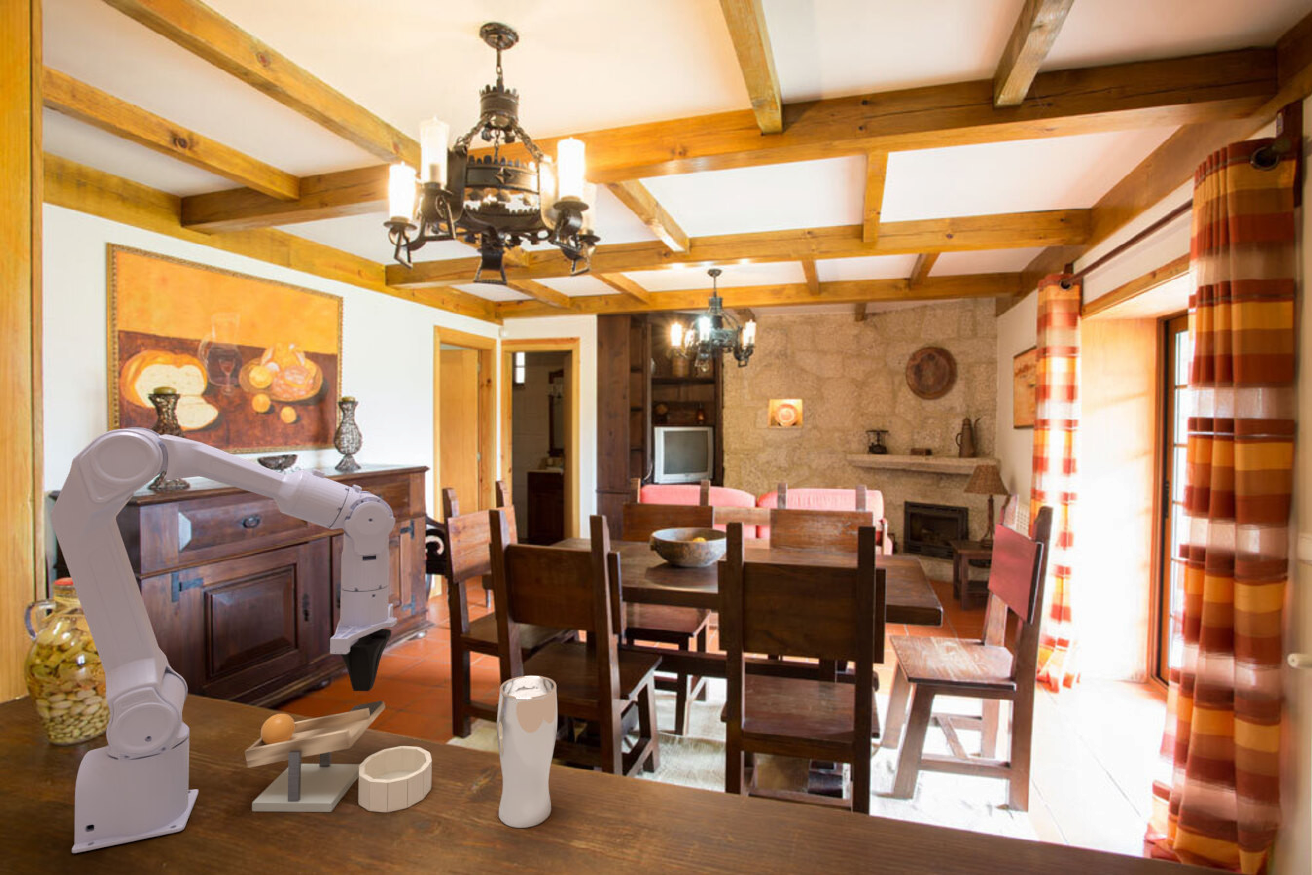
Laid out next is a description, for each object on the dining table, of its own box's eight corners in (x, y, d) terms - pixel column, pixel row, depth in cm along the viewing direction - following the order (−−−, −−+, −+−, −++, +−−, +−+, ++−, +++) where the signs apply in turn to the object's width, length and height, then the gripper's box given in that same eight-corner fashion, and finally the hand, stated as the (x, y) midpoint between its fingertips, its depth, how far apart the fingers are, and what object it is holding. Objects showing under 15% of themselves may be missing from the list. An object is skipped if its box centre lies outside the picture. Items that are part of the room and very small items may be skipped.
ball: (261, 755, 75) (256, 725, 75) (265, 743, 78) (260, 714, 78) (295, 744, 76) (291, 715, 76) (298, 733, 79) (293, 705, 79)
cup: (358, 818, 72) (359, 788, 72) (357, 781, 80) (358, 753, 79) (434, 801, 76) (434, 773, 76) (426, 767, 83) (427, 741, 83)
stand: (251, 811, 73) (253, 753, 73) (291, 771, 81) (292, 719, 81) (330, 811, 73) (332, 754, 73) (362, 771, 82) (363, 720, 82)
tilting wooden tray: (247, 767, 74) (244, 751, 74) (296, 724, 84) (293, 710, 84) (349, 747, 74) (346, 731, 74) (385, 707, 85) (382, 692, 85)
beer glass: (548, 832, 71) (552, 700, 70) (487, 829, 71) (490, 697, 71) (559, 795, 78) (562, 675, 77) (503, 793, 78) (506, 673, 78)
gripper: (373, 602, 75) (370, 714, 76) (415, 573, 90) (413, 667, 90) (313, 601, 75) (311, 714, 75) (365, 572, 89) (363, 667, 90)
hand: (363, 688), depth 83 cm, fingers closed
